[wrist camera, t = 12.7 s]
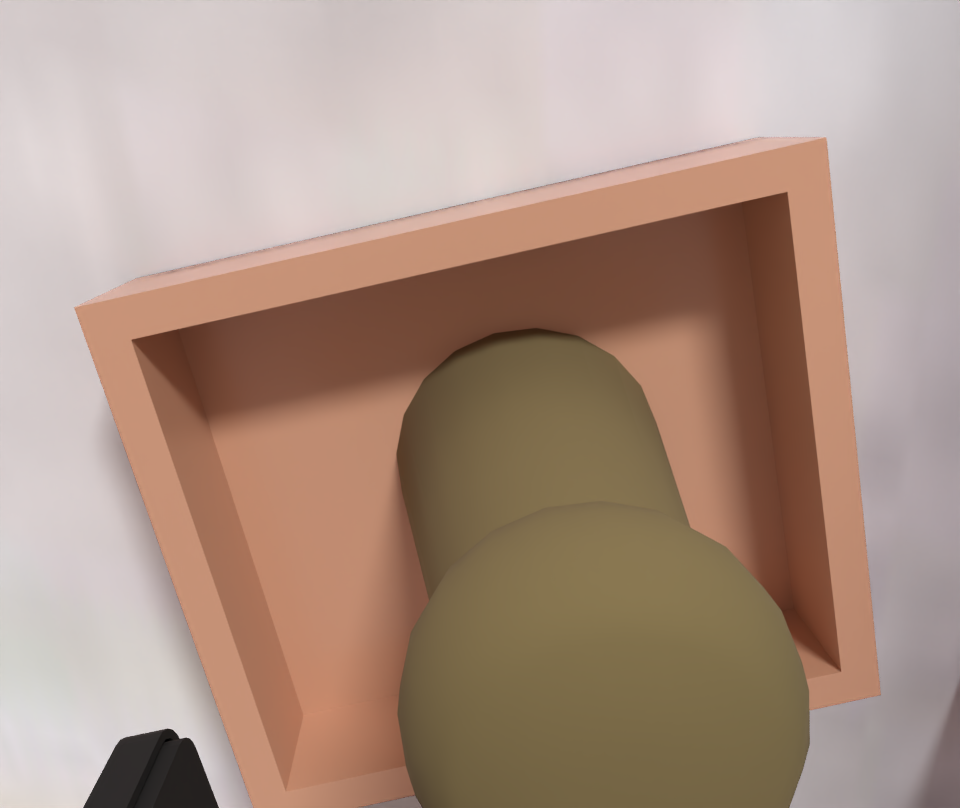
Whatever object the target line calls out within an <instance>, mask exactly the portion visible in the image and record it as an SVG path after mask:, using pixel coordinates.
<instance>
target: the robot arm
mask: <svg viewBox="0 0 960 808" xmlns="http://www.w3.org/2000/svg"><path fill="white" fill-rule="evenodd" d="M83 808H219V807H218V805H217V802H216V799H215V797H214V794H213V791H212V789H211V786H210V784H209V781H208V778H207V776H206V773H205V771H204V768H203V765H202V763H201V760H200V758H199V755H198V752H197V750H196V747H195V745H194V743H193V742H192V741H191V740H190V739H189V738H182V739H179V737H178V735H177V734H176V733H175V732H174V731H173V730H171V729H164V730H159V731H154V732H150V733H145V734H140V735H135V736H130V737H125V738H123V739H121V740H120V741H119V742H118V744H117V745H116V747H115V748H114V750H113V752H112V754H111V756H110V758H109V760H108V762H107V764H106V765H105V767H104V769H103V771H102V773H101V775H100V777H99V779H98V781H97V783H96V784H95V786H94V788H93V790H92V792H91V794H90V796H89V798H88V800H87V801H86V803H85V805H84V807H83Z"/></svg>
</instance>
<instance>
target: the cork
mask: <svg viewBox="0 0 960 808" xmlns="http://www.w3.org/2000/svg"><path fill="white" fill-rule="evenodd" d="M396 455H397V462H398V468H399V475H400V482H401V488H402V494H403V498H404V502H405V506H406V510H407V514H408V518H409V522H410V526H411V530H412V534H413V538H414V542H415V546H416V550H417V554H418V558H419V562H420V566H421V570H422V574H423V578H424V582H425V586H426V590H427V594H428V598H429V602H428V604H427V605H426V607H425V609H424V610H423V612H422V614H421V615H420V617H419V619H418V621H417V622H416V624H415V626H414V628H413V629H412V631H411V634H410V639H409V644H408V649H407V653H406V658H405V663H404V668H403V673H402V678H401V683H400V690H399V701H398V711H397V715H398V721H399V727H400V733H401V739H402V745H403V751H404V757H405V763H406V768H407V771H408V775H409V778H410V781H411V784H412V787H413V790H414V793H415V796H416V797H417V799H418V801H419V802H420V804H421V806H422V808H789V806H790V804H791V801H792V798H793V795H794V793H795V790H796V787H797V784H798V781H799V779H800V776H801V773H802V770H803V767H804V763H805V759H806V756H807V752H808V748H809V745H810V736H809V688H808V684H807V680H806V676H805V672H804V668H803V664H802V661H801V658H800V656H799V653H798V651H797V648H796V646H795V643H794V641H793V638H792V636H791V633H790V631H789V628H788V626H787V623H786V621H785V618H784V616H783V613H782V611H781V609H780V608H779V607H778V605H777V604H776V603H775V601H774V600H773V599H772V598H771V596H770V595H769V594H768V592H767V591H766V590H765V588H764V587H763V586H762V585H761V584H760V583H759V582H758V581H757V580H756V579H755V577H754V576H753V575H752V574H751V573H750V572H749V571H748V570H747V569H746V568H745V567H744V566H743V564H742V563H741V562H740V561H739V560H738V559H737V558H736V557H735V556H734V555H733V554H732V553H731V552H730V550H729V549H728V548H727V547H726V546H724V545H722V544H720V543H718V542H716V541H715V540H713V539H711V538H709V537H707V536H705V535H703V534H702V533H700V532H698V531H696V530H694V529H692V528H691V527H690V524H689V521H688V518H687V515H686V512H685V509H684V506H683V503H682V500H681V497H680V494H679V490H678V487H677V484H676V481H675V478H674V475H673V472H672V469H671V466H670V463H669V460H668V457H667V454H666V451H665V448H664V444H663V441H662V438H661V435H660V432H659V429H658V426H657V423H656V420H655V418H654V416H653V413H652V411H651V408H650V406H649V404H648V401H647V399H646V396H645V394H644V392H643V389H642V387H641V385H640V384H639V383H638V382H637V381H636V380H635V378H634V377H633V376H632V375H631V374H630V373H629V372H628V371H627V370H626V368H625V367H624V366H623V365H622V364H621V363H620V362H619V361H618V360H617V358H616V357H615V356H613V355H612V354H610V353H608V352H606V351H604V350H603V349H601V348H599V347H597V346H596V345H594V344H592V343H590V342H588V341H587V340H585V339H583V338H581V337H579V336H576V335H571V334H566V333H561V332H555V331H550V330H545V329H540V328H532V329H523V330H515V331H507V332H499V333H493V334H491V335H489V336H486V337H484V338H482V339H480V340H478V341H475V342H473V343H471V344H469V345H467V346H465V347H462V348H460V349H458V350H456V351H454V352H453V353H452V354H451V355H450V356H449V357H448V358H447V359H445V360H444V361H443V362H442V363H441V364H440V365H439V366H438V367H437V368H436V369H434V370H433V371H432V372H431V373H430V374H429V375H428V376H427V377H426V378H425V379H424V380H423V381H422V383H421V385H420V387H419V389H418V390H417V392H416V394H415V396H414V397H413V399H412V401H411V403H410V404H409V406H408V408H407V410H406V412H405V413H404V416H403V421H402V426H401V432H400V437H399V442H398V448H397V453H396Z"/></svg>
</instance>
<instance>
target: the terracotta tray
mask: <svg viewBox="0 0 960 808" xmlns="http://www.w3.org/2000/svg"><path fill="white" fill-rule="evenodd" d="M74 308H75V311H76V314H77V317H78V319H79V322H80V325H81V328H82V330H83V333H84V336H85V339H86V342H87V344H88V347H89V350H90V353H91V356H92V358H93V361H94V364H95V367H96V370H97V372H98V375H99V378H100V381H101V384H102V386H103V389H104V392H105V395H106V397H107V400H108V403H109V406H110V409H111V411H112V414H113V417H114V420H115V423H116V425H117V428H118V431H119V434H120V437H121V439H122V442H123V445H124V448H125V451H126V453H127V456H128V459H129V462H130V464H131V467H132V470H133V473H134V476H135V478H136V481H137V484H138V487H139V490H140V492H141V495H142V498H143V501H144V504H145V506H146V509H147V512H148V515H149V517H150V520H151V523H152V526H153V529H154V531H155V534H156V537H157V540H158V543H159V545H160V548H161V551H162V554H163V557H164V559H165V562H166V565H167V568H168V571H169V573H170V576H171V579H172V582H173V584H174V587H175V590H176V593H177V596H178V598H179V601H180V604H181V607H182V610H183V612H184V615H185V618H186V621H187V624H188V626H189V629H190V632H191V635H192V638H193V640H194V643H195V646H196V649H197V651H198V654H199V657H200V660H201V663H202V665H203V668H204V671H205V674H206V677H207V679H208V682H209V685H210V688H211V691H212V693H213V696H214V699H215V702H216V705H217V707H218V710H219V713H220V716H221V718H222V721H223V724H224V727H225V730H226V732H227V735H228V738H229V741H230V744H231V746H232V749H233V752H234V755H235V758H236V760H237V763H238V766H239V769H240V771H241V774H242V777H243V780H244V783H245V785H246V788H247V791H248V794H249V797H250V799H251V802H252V805H253V808H358V807H363V806H367V805H372V804H376V803H381V802H386V801H390V800H395V799H400V798H404V797H409V796H414V795H415V793H414V790H413V787H412V784H411V781H410V778H409V775H408V771H407V768H406V763H405V757H404V751H403V745H402V739H401V733H400V727H399V721H398V715H397V711H398V701H399V690H400V683H401V678H402V673H403V668H404V663H405V658H406V653H407V649H408V644H409V639H410V634H411V631H412V629H413V628H414V626H415V624H416V622H417V621H418V619H419V617H420V615H421V614H422V612H423V610H424V609H425V607H426V605H427V604H428V602H429V598H428V594H427V590H426V586H425V582H424V578H423V574H422V570H421V566H420V562H419V558H418V554H417V550H416V546H415V542H414V538H413V534H412V530H411V526H410V522H409V518H408V514H407V510H406V506H405V502H404V498H403V494H402V488H401V482H400V475H399V468H398V462H397V455H396V453H397V448H398V442H399V437H400V432H401V426H402V421H403V416H404V413H405V412H406V410H407V408H408V406H409V404H410V403H411V401H412V399H413V397H414V396H415V394H416V392H417V390H418V389H419V387H420V385H421V383H422V381H423V380H424V379H425V378H426V377H427V376H428V375H429V374H430V373H431V372H432V371H433V370H434V369H436V368H437V367H438V366H439V365H440V364H441V363H442V362H443V361H444V360H445V359H447V358H448V357H449V356H450V355H451V354H452V353H453V352H454V351H456V350H458V349H460V348H462V347H465V346H467V345H469V344H471V343H473V342H475V341H478V340H480V339H482V338H484V337H486V336H489V335H491V334H493V333H499V332H507V331H515V330H523V329H532V328H540V329H545V330H550V331H555V332H561V333H566V334H571V335H576V336H579V337H581V338H583V339H585V340H587V341H588V342H590V343H592V344H594V345H596V346H597V347H599V348H601V349H603V350H604V351H606V352H608V353H610V354H612V355H613V356H615V357H616V358H617V360H618V361H619V362H620V363H621V364H622V365H623V366H624V367H625V368H626V370H627V371H628V372H629V373H630V374H631V375H632V376H633V377H634V378H635V380H636V381H637V382H638V383H639V384H640V385H641V387H642V389H643V392H644V394H645V396H646V399H647V401H648V404H649V406H650V408H651V411H652V413H653V416H654V418H655V420H656V423H657V426H658V429H659V432H660V435H661V438H662V441H663V444H664V448H665V451H666V454H667V457H668V460H669V463H670V466H671V469H672V472H673V475H674V478H675V481H676V484H677V487H678V490H679V494H680V497H681V500H682V503H683V506H684V509H685V512H686V515H687V518H688V521H689V524H690V527H691V528H692V529H694V530H696V531H698V532H700V533H702V534H703V535H705V536H707V537H709V538H711V539H713V540H715V541H716V542H718V543H720V544H722V545H724V546H726V547H727V548H728V549H729V550H730V552H731V553H732V554H733V555H734V556H735V557H736V558H737V559H738V560H739V561H740V562H741V563H742V564H743V566H744V567H745V568H746V569H747V570H748V571H749V572H750V573H751V574H752V575H753V576H754V577H755V579H756V580H757V581H758V582H759V583H760V584H761V585H762V586H763V587H764V588H765V590H766V591H767V592H768V594H769V595H770V596H771V598H772V599H773V600H774V601H775V603H776V604H777V605H778V607H779V608H780V609H781V611H782V613H783V616H784V618H785V621H786V623H787V626H788V628H789V631H790V633H791V636H792V638H793V641H794V643H795V646H796V648H797V651H798V653H799V656H800V658H801V661H802V664H803V668H804V672H805V676H806V680H807V684H808V688H809V710H813V709H818V708H823V707H827V706H832V705H837V704H841V703H846V702H851V701H855V700H860V699H865V698H869V697H874V696H878V695H881V693H880V683H879V673H878V662H877V652H876V642H875V632H874V621H873V611H872V601H871V591H870V580H869V570H868V560H867V550H866V539H865V529H864V519H863V509H862V498H861V488H860V478H859V468H858V457H857V447H856V437H855V427H854V417H853V406H852V396H851V386H850V376H849V365H848V355H847V345H846V335H845V324H844V314H843V304H842V294H841V283H840V273H839V263H838V253H837V242H836V232H835V222H834V212H833V201H832V191H831V181H830V171H829V160H828V150H827V140H826V137H758V138H753V139H749V140H744V141H740V142H736V143H731V144H727V145H722V146H718V147H714V148H709V149H705V150H700V151H696V152H691V153H687V154H683V155H678V156H674V157H669V158H665V159H661V160H656V161H652V162H647V163H643V164H639V165H634V166H630V167H625V168H621V169H616V170H612V171H608V172H603V173H599V174H594V175H590V176H586V177H581V178H577V179H572V180H568V181H564V182H559V183H555V184H550V185H546V186H541V187H537V188H533V189H528V190H524V191H519V192H515V193H511V194H506V195H502V196H497V197H493V198H489V199H484V200H480V201H475V202H471V203H466V204H462V205H458V206H453V207H449V208H444V209H440V210H436V211H431V212H427V213H422V214H418V215H414V216H409V217H405V218H400V219H396V220H391V221H387V222H383V223H378V224H374V225H369V226H365V227H361V228H356V229H352V230H347V231H343V232H339V233H334V234H330V235H325V236H321V237H316V238H312V239H308V240H303V241H299V242H294V243H290V244H286V245H281V246H277V247H272V248H268V249H264V250H259V251H255V252H250V253H246V254H241V255H237V256H233V257H228V258H224V259H219V260H215V261H211V262H206V263H202V264H197V265H193V266H189V267H184V268H180V269H175V270H171V271H166V272H162V273H158V274H153V275H149V276H144V277H140V278H136V279H134V280H132V281H129V282H127V283H125V284H123V285H121V286H119V287H117V288H115V289H113V290H110V291H108V292H106V293H104V294H102V295H100V296H98V297H96V298H94V299H91V300H89V301H87V302H85V303H83V304H81V305H79V306H77V307H74Z"/></svg>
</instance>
